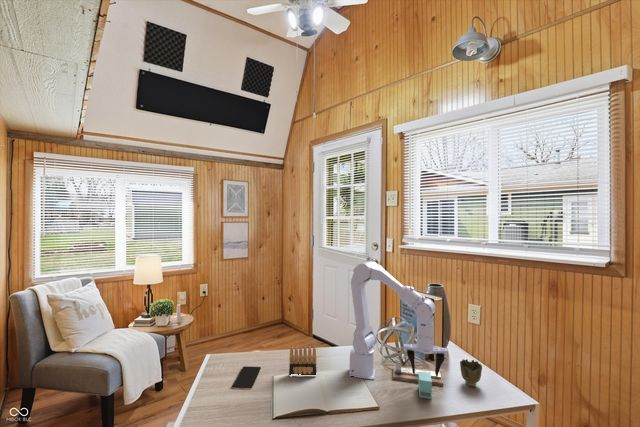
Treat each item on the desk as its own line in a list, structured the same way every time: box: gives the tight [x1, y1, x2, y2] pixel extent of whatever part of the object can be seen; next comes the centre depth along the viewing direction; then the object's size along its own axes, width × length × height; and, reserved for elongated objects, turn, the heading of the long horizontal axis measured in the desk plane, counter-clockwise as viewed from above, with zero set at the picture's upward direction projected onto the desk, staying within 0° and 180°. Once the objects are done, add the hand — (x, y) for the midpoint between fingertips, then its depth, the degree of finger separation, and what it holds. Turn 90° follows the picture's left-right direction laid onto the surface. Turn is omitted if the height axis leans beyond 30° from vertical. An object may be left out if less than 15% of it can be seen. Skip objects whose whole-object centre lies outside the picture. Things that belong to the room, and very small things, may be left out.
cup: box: [459, 359, 483, 388], centre depth 116 cm, size 8×7×8 cm
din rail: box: [395, 363, 442, 379], centre depth 122 cm, size 17×5×2 cm, turn 76°
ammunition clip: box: [288, 344, 317, 376], centre depth 122 cm, size 11×2×12 cm, turn 91°
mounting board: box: [392, 364, 444, 387], centre depth 122 cm, size 18×9×1 cm, turn 76°
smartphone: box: [231, 365, 262, 390], centre depth 120 cm, size 7×1×15 cm
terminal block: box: [417, 371, 433, 400], centre depth 110 cm, size 4×7×6 cm, turn 166°
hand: (425, 373), depth 111 cm, fingers open, 7 cm apart
